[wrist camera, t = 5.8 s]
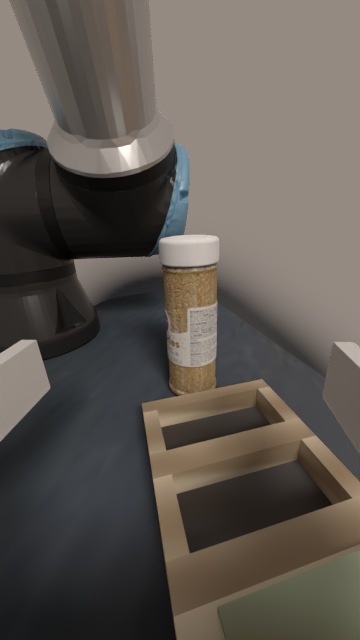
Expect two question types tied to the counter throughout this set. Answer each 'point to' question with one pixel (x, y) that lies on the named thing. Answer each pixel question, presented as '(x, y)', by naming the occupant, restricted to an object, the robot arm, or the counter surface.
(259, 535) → the slotted wooden board
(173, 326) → the sprinkles bottle
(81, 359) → the counter surface
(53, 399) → the counter surface
